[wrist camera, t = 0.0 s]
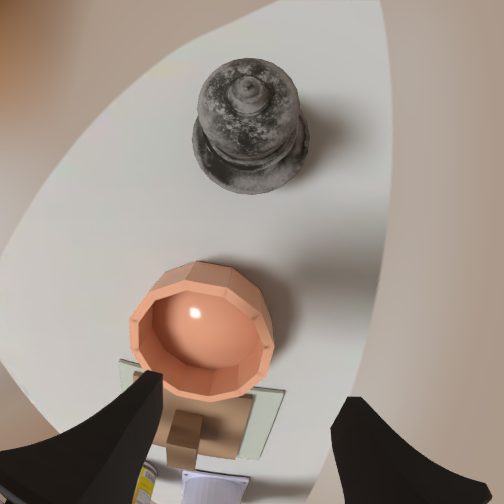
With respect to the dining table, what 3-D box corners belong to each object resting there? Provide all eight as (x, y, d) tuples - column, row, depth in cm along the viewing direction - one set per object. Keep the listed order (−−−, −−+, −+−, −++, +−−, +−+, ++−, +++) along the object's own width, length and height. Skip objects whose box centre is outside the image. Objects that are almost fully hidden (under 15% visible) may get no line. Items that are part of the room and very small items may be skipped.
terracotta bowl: (256, 378, 21) (256, 408, 18) (146, 357, 21) (132, 384, 17) (281, 276, 19) (287, 297, 16) (150, 252, 19) (130, 268, 15)
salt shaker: (307, 112, 16) (391, 25, 5) (286, 200, 18) (347, 249, 6) (216, 92, 16) (161, -20, 4) (195, 180, 17) (94, 193, 6)
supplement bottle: (112, 460, 26) (90, 516, 16) (124, 448, 25) (99, 512, 15) (149, 479, 27) (133, 535, 17) (164, 468, 26) (148, 533, 16)
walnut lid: (235, 455, 24) (233, 489, 19) (141, 436, 23) (130, 468, 19) (252, 394, 21) (252, 436, 17) (134, 370, 21) (115, 407, 16)
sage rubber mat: (257, 457, 24) (258, 460, 24) (130, 432, 24) (129, 435, 23) (283, 390, 22) (283, 393, 21) (120, 359, 21) (118, 361, 21)
